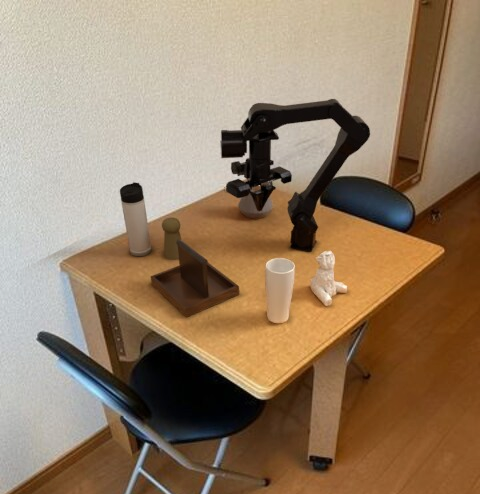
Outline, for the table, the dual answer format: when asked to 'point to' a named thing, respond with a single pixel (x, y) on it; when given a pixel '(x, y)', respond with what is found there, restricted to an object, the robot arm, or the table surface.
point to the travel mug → (135, 219)
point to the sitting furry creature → (326, 279)
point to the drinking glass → (279, 288)
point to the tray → (193, 283)
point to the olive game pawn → (171, 237)
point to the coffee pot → (253, 207)
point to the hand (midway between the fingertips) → (259, 210)
